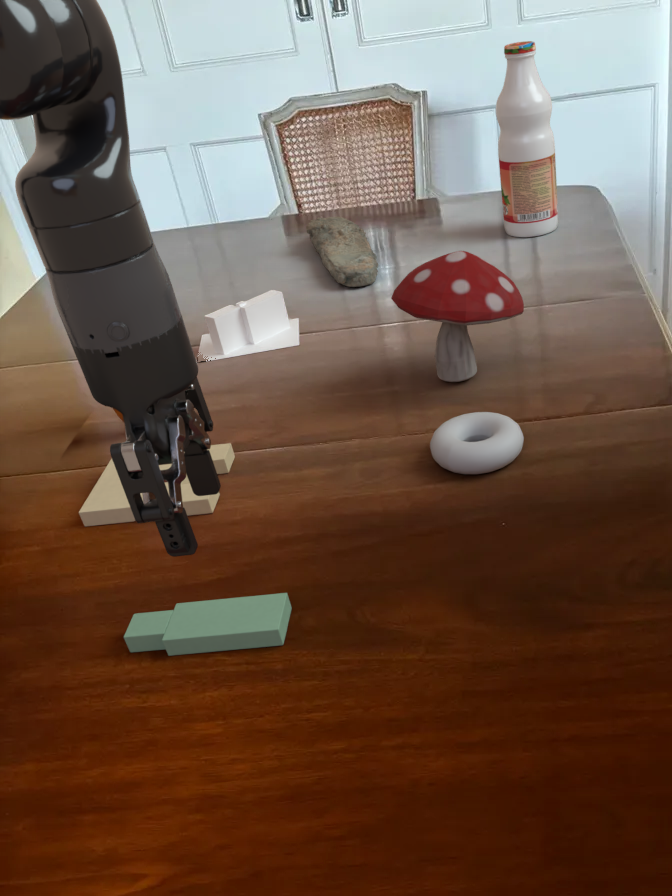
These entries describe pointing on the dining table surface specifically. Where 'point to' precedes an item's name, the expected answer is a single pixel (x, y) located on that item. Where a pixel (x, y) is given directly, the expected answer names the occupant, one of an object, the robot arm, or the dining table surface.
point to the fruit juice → (526, 147)
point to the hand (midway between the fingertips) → (196, 521)
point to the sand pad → (114, 507)
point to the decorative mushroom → (458, 305)
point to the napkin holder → (249, 328)
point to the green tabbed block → (212, 625)
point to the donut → (476, 443)
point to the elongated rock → (344, 250)
